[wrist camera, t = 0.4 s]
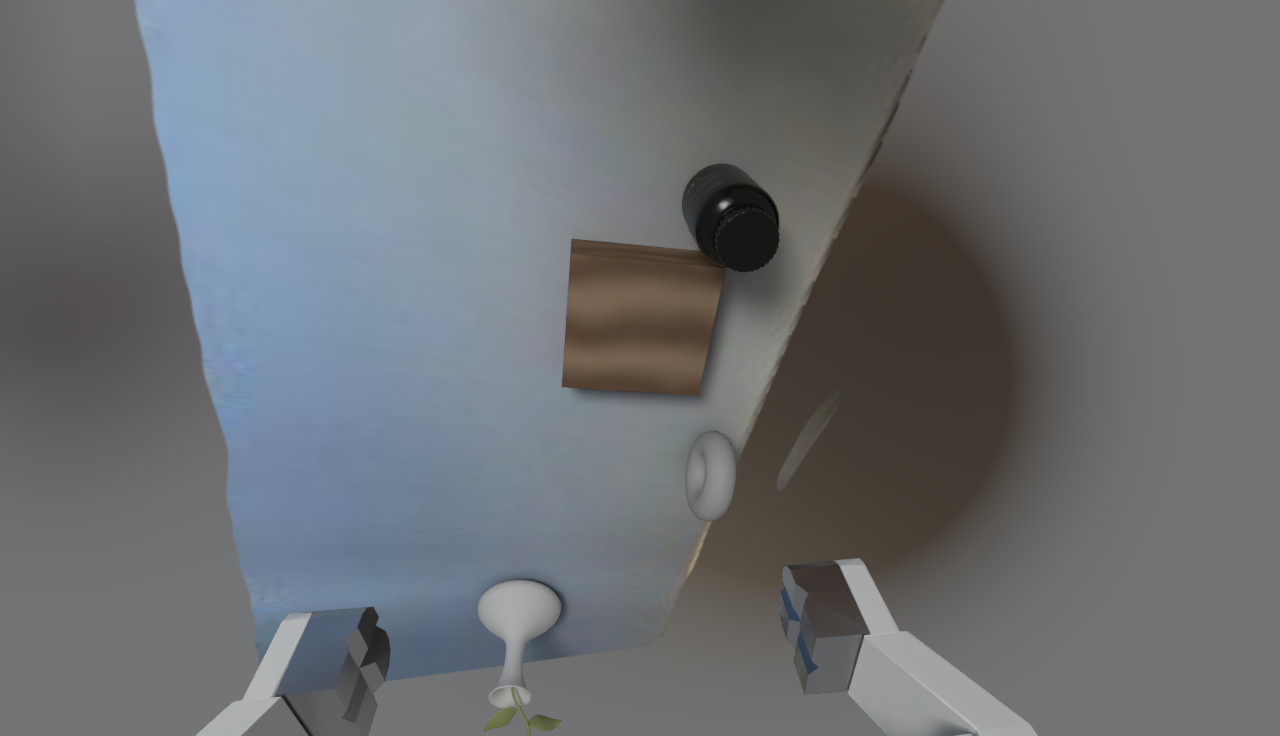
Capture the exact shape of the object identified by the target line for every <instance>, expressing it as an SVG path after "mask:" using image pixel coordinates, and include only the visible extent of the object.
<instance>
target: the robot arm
mask: <svg viewBox="0 0 1280 736" xmlns="http://www.w3.org/2000/svg"><path fill="white" fill-rule="evenodd" d="M782 578H783V581H784V584H785V587H784V588H783V589H782V590H781V591H780V597H779V608H780V617H781V622H782V626H783V629H784V633H785V636H786V639H787V640H788V641H789V642H790V643H791V644H792V645H794V646H795V647H796V649H795V656H794V664H795V667H796V670H797V673H798V676H799V679H800V681H801V685H802V688H803V691H804V693H805V695H806V694H818V693H830V692H844V691H848V694H849V695H850V696H851V697H852V698H853V700H854V701H855V702H856V703H857V704H859V706H860V707H861V708H862V709H863V710H864V711H865V712H866V713H867V714H868V715H869V716H870V717H871V719H873V721H874V722H875V723H876V724H877V725H878V726H879V727H880V728H881V729H882V730H883V731H884V732H885V733H886V734H887V735H888V736H1037V734H1036V733H1035V731H1034V730H1033V728H1032V726H1031V725H1030V724H1028V723H1027V722H1026V721H1024V720H1023V719H1022V718H1021V717H1019V716H1018V715H1017V714H1015V713H1014V712H1013V711H1011V710H1010V709H1009V708H1007V707H1006V706H1005V705H1004V704H1002V703H1001V702H1000V701H998V700H997V699H996V698H994V697H993V696H991V695H990V694H989V693H988V692H987V691H985V690H984V689H983V688H981V687H980V686H979V685H977V684H976V683H975V682H973V681H972V680H971V679H969V678H968V677H967V676H966V675H964V674H963V673H962V672H960V671H959V670H958V669H956V668H955V667H954V666H952V665H951V664H950V663H949V662H947V661H946V660H945V659H943V658H942V657H940V656H939V655H938V654H937V653H935V652H934V651H933V650H931V649H930V648H929V647H927V646H926V645H925V644H924V643H922V642H921V641H920V640H918V639H917V638H916V637H914V636H913V635H912V634H910V633H909V632H908V631H899V629H898V627H897V625H896V623H895V621H894V620H893V618H892V616H891V614H890V612H889V610H888V608H887V606H886V604H885V602H884V600H883V598H882V597H881V595H880V593H879V591H878V589H877V587H876V585H875V583H874V581H873V580H872V577H871V575H870V574H869V571H868V570H867V568H866V566H865V564H864V562H863V561H862V560H861V559H859V558H853V559H844V560H836V561H833V560H828V561H819V562H810V563H801V564H793V565H786V566H785V567H784V569H783V574H782ZM378 618H379V616H378V614H377V613H376V611H375V609H374V607H362V608H349V609H337V610H324V611H310V612H300V613H290V614H289V615H288V616H287V617H286V618H285V619H284V620H283V621H282V622H281V624H280V626H279V628H278V630H277V632H276V634H275V636H274V638H273V640H272V642H271V644H270V646H269V648H268V650H267V652H266V654H265V656H264V658H263V660H262V662H261V664H260V666H259V668H258V670H257V672H256V674H255V676H254V678H253V680H252V682H251V684H250V685H249V687H248V690H247V691H246V694H245V695H244V698H243V699H242V700H239V701H234V702H232V703H231V704H230V705H229V706H228V707H227V708H226V709H225V710H224V711H222V712H221V713H220V714H219V715H218V716H217V717H216V718H215V719H214V720H212V721H211V722H210V723H209V724H208V725H207V726H206V727H205V728H203V729H202V730H201V731H200V732H199V733H198V734H197V735H196V736H368V735H369V731H370V728H371V725H372V722H373V718H374V715H375V712H376V709H377V703H376V701H375V698H374V695H373V693H374V692H375V691H376V690H377V689H378V688H379V687H380V686H381V685H382V684H383V682H385V679H386V675H387V672H388V668H389V662H390V650H391V649H390V643H389V638H388V636H387V633H386V631H385V630H383V629H381V628H379V627H378V626H376V624H377V621H378Z"/></svg>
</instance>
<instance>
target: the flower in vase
mask: <svg viewBox="0 0 1280 736" xmlns="http://www.w3.org/2000/svg"><path fill="white" fill-rule="evenodd" d="M477 609H478V614H479V618H480V620H481V622H482V623H483V625H484V626H485V627H486V628H487V629H488V630H489V631H491V632H492V633H493V634H495V635H496V636H498V637H500V638H502V639H503V640H504V641H505V643H506V658H505V664H504V669H503V672H502V675H501V678H500V680H499V682H498V684H497V686H496V687H495V688H494V689H493V690H492V692H491V693H490V694H489V701H490V703H491V704H492V705H494V706H496V707H499V708H502V710H500V711H498V712H497V713H496V714H495V715H494V716H492V718H491V719H490V720H489V721H488V723H487V724H486V726H485V729H484V731H486V730H489V729H493V728H499V727H502V726H505V725H506V724H508V722H509V721H510V720H511V719H512V718H513V716H514V715H515V713H516V711H517V710H518V711H519V713H520V714H521V716H522V718H523V720H524V722H525V724H526V728H527V736H530V728H529V725H530V726H531V727H534V728H536V729H538V730H541V731H550V730H552V729H554V728H555V727H557V726H558V725H559V724H560V722H561V721H562V720H558V719H552V718H549V717H545V716H543V715H535V716H534V717H532V718H531V719H530V720H529V722H527V719H526V717H525V715H524V713H523V712H522V710H521V708H520V707H522V706H525V705H526V704H528V703H529V702H530V700H531V694H530V692H529V691H528V689H527V688H526V686H525V682H524V677H523V655H524V649H525V645H526V644H527V642H528V641H529V640H531V639H533V638H535V637H537V636H539V635H541V634H543V633H545V632H546V631H547V630H548V629H550V628H551V627H552V626H553V625H554V624H555V623H556V621H557V619H558V617H559V615H560V613H561V602H560V600H559V598H558V596H557V595H556V594H555V593H554V591H553V590H551V589H550V588H549V587H547V586H545V585H543V584H541V583H538V582H535V581H530V580H510V581H505V582H502V583H499V584H497V585H495V586H493V587H491V588H490V589H489V590H487V591H486V592H485V593H484V594H483V595H482V597H481V598H480V600H479V602H478V606H477ZM516 708H517V709H516Z"/></svg>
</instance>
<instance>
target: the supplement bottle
mask: <svg viewBox="0 0 1280 736" xmlns="http://www.w3.org/2000/svg"><path fill="white" fill-rule="evenodd" d="M682 210H683V215H684V218H685V220H686V222H687V224H688V227H689V229H690V231H691V233H692V235H693V237H694V239H695V241H696V243H697V245H698V247H699V248H700V250H701V252H702V253H703V254H704V255H705V256H706V257H707V258H708V259H709V260H710V261H712V262H713V263H715V264H717V265H719V266H723V267H727V268H730V269H733V270H734V271H739V272H743V271H744V272H748V271H754V270H758V269H759V268H760V267H763V266H764V265H765V264H767V263H768V262H769V261H770V259H772V258H773V256H774V254H775V253H776V249H777V248H778V243H779V241H780V240H779V235H780V234H779V232H778V230H779V213H778V210H777V207H776V205H775V203H774V201H773V200H772V198H771V197H770V196H769V194H768V193H767V192H766V191H764V190H763V189H762V188H761V187H760V186H759V185H758V184H757V183H756V182H755V181H754V180H753V179H752V178H750V177H749V176H748V175H747V174H746V173H745V172H744V171H742V170H741V169H739V168H737V167H735V166H733V165H729V164H715V165H711V166H708V167H706V168H704V169H702V170H700V171H699V172H698V173H696V174H695V175H694V176H693V177H692V179H691V180H690V181H689V183H688V184H687V186H686V188H685V191H684V194H683V199H682Z"/></svg>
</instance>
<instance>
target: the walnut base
mask: <svg viewBox="0 0 1280 736" xmlns="http://www.w3.org/2000/svg"><path fill="white" fill-rule="evenodd" d="M725 270H726V268H725V267H723V266H719V265H717V264H715V263H713V262H712V261H710V260H709V259H708V258H707V257H706V256H705V255H704V254H703V253H702V252H701V251H694V250H683V249H673V248H662V247H652V246H641V245H631V244H620V243H610V242H599V241H589V240H578V239H572V241H571V256H570V271H569V287H568V302H567V317H566V332H565V347H564V362H563V378H562V387H568V388H585V389H602V390H619V391H635V392H652V393H669V394H686V395H698V394H699V389H700V384H701V380H702V375H703V371H704V366H705V361H706V357H707V352H708V348H709V343H710V338H711V334H712V329H713V325H714V320H715V315H716V311H717V306H718V302H719V297H720V293H721V288H722V283H723V279H724V274H725Z"/></svg>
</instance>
